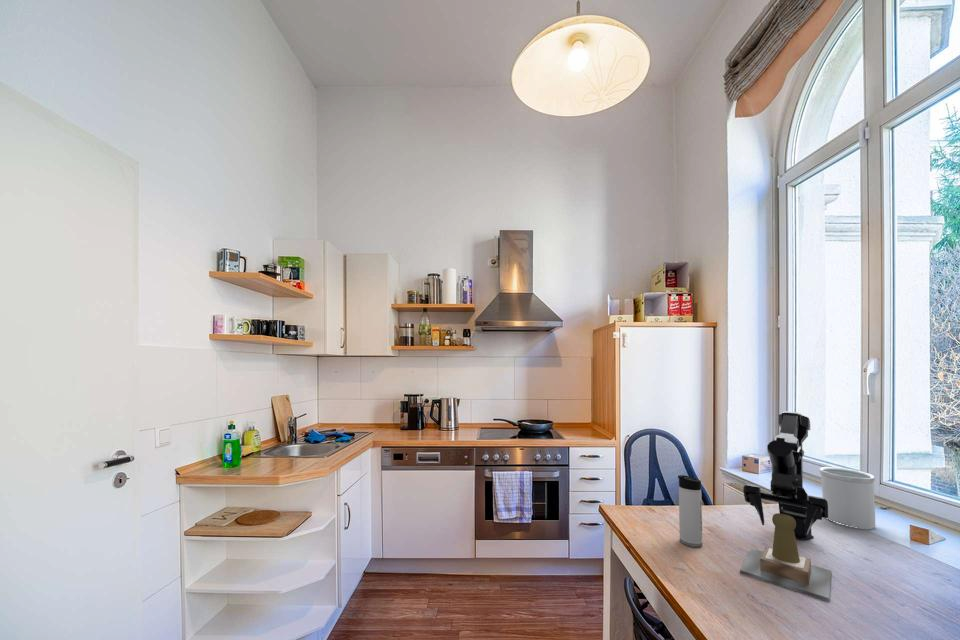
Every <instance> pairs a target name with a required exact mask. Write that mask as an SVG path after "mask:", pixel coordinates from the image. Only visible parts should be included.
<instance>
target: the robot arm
mask: <svg viewBox="0 0 960 640" xmlns="http://www.w3.org/2000/svg"><path fill="white" fill-rule="evenodd" d="M778 426H779V428H780V431H779V434H777V435H774V436H773V439H772V440H771V441H770V442H768V444H767V446H766V447H767V454H768V457H769V461H770V464H771V465H772V466H771V467H772V468H771V480H770V491H771V492H765V491H762V490H761V486H758V485H754V484H748V483H746V484H744V485H743V489H742V491H743V496H744V501H745V502H746V503H748V504H749V505H750V506H751V507H754V509H755V510H756V512H757V514H758V516H759V520H760V522H761V524H762V526H765V516H764V508H763V502H762V500H765V501H771V502H775V503H778V510H779V512H778V513H781V514H786V515H789V516H791V517H793V518H794V519H795V521H796V528H795V529H794V533H795V538H796V540H797V539H798V540H800V541H802V540H809V539H813V538H815V537H814V535H812V534H813V533H812V527H813V525H814V524H815V523H816V521H818V520H823V519H826V518H828V501H827V500H826V499H825V498H823V497H820V496H814V495H810V494H809V495H808V493H807V491H806V489H805V488H804V487H803V484H804V483H803V481H804V480H803V477H804V476H803V473H804V472H803V471H804V470H803V469H804V467H803V466H804V465H803V457H804V456H805V451H804V450H803V444H804V441H805V440H807V438H808V436H809V431H811V420H810V418H809V417H808V416H805V415H803V414H802V413H799V412H797V411H796V412H795V411H782V412H781V413H779V414H778Z"/></svg>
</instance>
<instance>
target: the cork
mask: <svg viewBox="0 0 960 640" xmlns="http://www.w3.org/2000/svg"><path fill="white" fill-rule="evenodd" d="M772 523H773V525H774V533H773V542H772V548H773V550H772V555H773V557H775V558H777V559H779V560H781V561H784V562H788V563H799V562H800V559H799V556H800V555H799V550H798V549H799V548H798V544H797V538H795V533H794V529H795V528H796V521H795V519H794V518H793V517H791V516H789V515H786V514H781V513H779V512H778V513H774V514H773V515H772Z"/></svg>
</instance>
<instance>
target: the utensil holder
mask: <svg viewBox="0 0 960 640" xmlns="http://www.w3.org/2000/svg"><path fill="white" fill-rule="evenodd" d="M819 472H820V480H821V493H822V498H825V499H826V500H827V501H828V519H830V520H832V521H835V522H838V523H841V524H844V525H848V526H852V527H857V528H862V529H861V530H873V529H875V528H876V505H875V503H876V502H875V484H874V482H875V481H876V480H875V476H874V475H873V474H871V473H868V472H866V471H865V472H864V471H860V470H857V469H856V470H855V469H852V468H844V467H837V466H823V467H820V468H819ZM828 519H827V520H828ZM852 527H851V528H852ZM857 528H856V529H857Z"/></svg>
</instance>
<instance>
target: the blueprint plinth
mask: <svg viewBox="0 0 960 640" xmlns="http://www.w3.org/2000/svg"><path fill="white" fill-rule="evenodd" d="M772 550H773V547H769V546H765V547H764V549H763V551H762V550H759V549H756V548H753V547H752V548H750V551H749V552H748V554H747V556H746V558H745V560H744V562H743V564H742V566H741V568H740V569H739V573H740V575H743V576H747V577H750V578H754V579H756V580H760V581H763V582H766V583H770V584H773V585H775V586H779V587H782V588H784V589H785V588H786V589H788V590H791V591H794V592H797V593H801V594H804V595H807V596H810V597H813V598H816V599H818V600H819V599H820V600H822V601H826V602H827V603H829V602H831V586H832V584H831V583H832V570H831V569H827V568H824V567H820V566H816V565H812V559H811V558H809V557H806V556H802V555H799V559H800V562H799V563H788V562H784V561H781V560H779V559H777V558H775V557H773V555H772Z"/></svg>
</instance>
